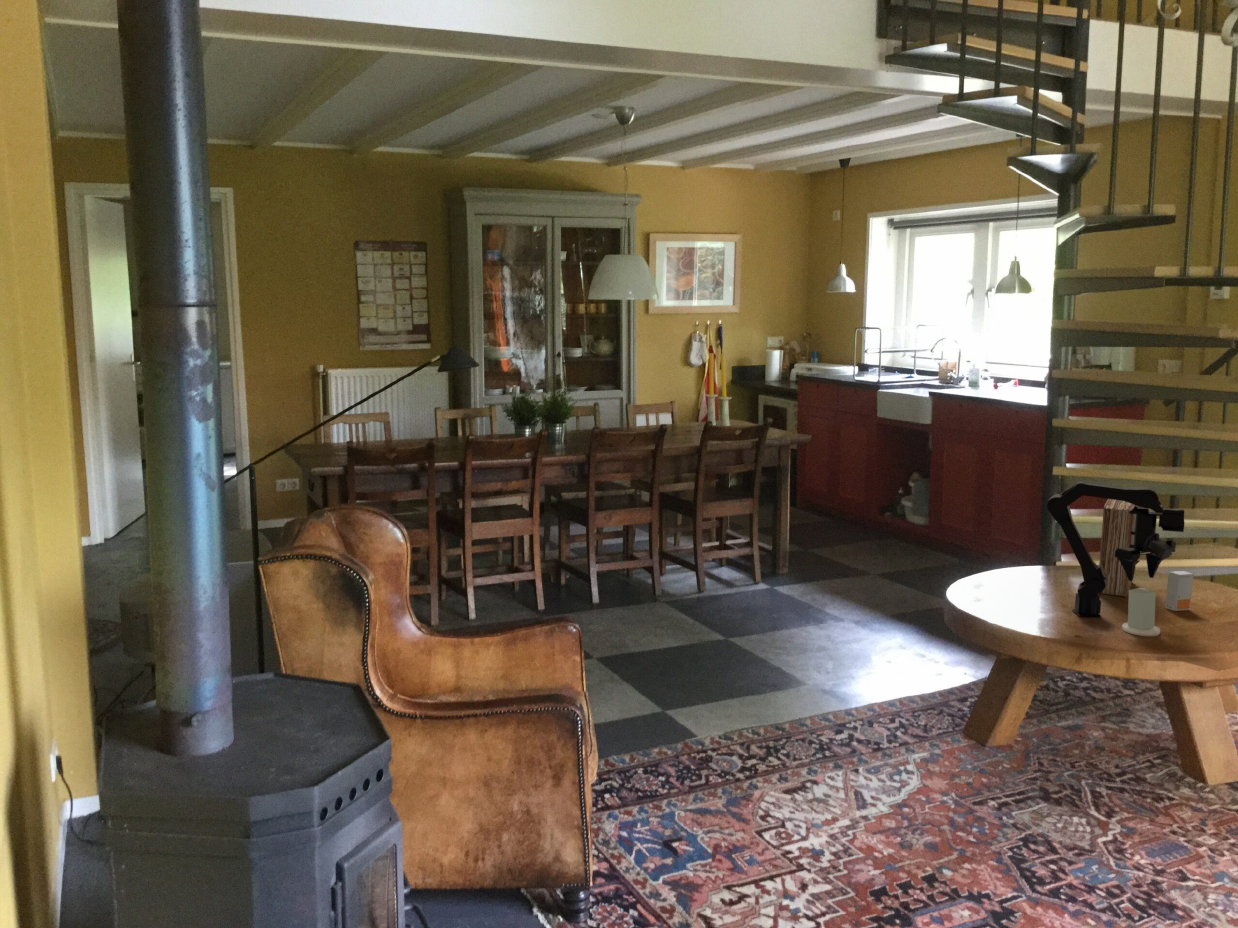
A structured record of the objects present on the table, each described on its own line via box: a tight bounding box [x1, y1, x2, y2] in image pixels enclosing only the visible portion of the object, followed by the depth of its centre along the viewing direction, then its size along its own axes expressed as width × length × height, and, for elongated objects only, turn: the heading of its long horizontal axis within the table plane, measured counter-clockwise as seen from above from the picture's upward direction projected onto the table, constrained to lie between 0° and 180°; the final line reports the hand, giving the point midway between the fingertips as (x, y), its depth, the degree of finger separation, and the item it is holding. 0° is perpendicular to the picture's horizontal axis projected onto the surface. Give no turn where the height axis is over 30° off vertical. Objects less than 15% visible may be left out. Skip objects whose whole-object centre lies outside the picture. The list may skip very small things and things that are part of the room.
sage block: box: [1127, 587, 1157, 630], centre depth 306 cm, size 5×5×11 cm
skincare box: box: [1164, 570, 1194, 612], centre depth 330 cm, size 6×4×12 cm
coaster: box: [1121, 622, 1161, 637], centre depth 307 cm, size 10×10×1 cm
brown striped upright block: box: [1098, 499, 1139, 599], centre depth 354 cm, size 25×9×30 cm, turn 151°
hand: (1141, 579), depth 316 cm, fingers open, 9 cm apart
